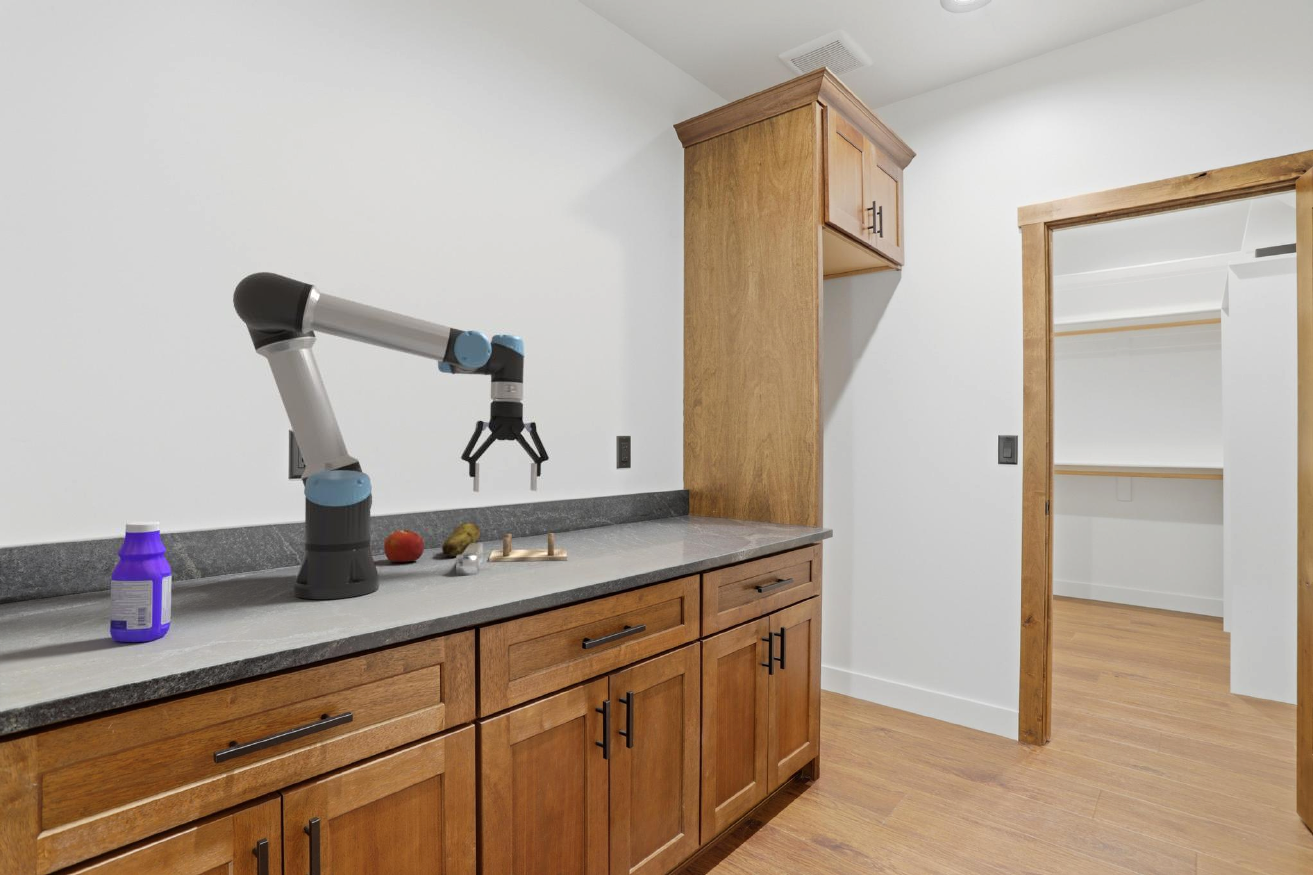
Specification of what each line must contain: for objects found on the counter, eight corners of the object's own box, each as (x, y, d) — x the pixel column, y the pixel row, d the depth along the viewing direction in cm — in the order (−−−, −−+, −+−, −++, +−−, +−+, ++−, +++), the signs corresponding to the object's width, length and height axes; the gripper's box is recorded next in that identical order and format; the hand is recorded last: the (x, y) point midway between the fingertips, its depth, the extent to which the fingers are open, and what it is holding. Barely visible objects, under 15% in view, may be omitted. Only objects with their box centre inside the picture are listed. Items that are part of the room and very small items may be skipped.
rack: (489, 561, 163) (489, 539, 163) (492, 554, 174) (493, 533, 174) (566, 560, 166) (567, 538, 166) (565, 552, 177) (566, 532, 177)
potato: (428, 556, 170) (429, 525, 170) (468, 549, 181) (468, 520, 181) (450, 559, 166) (450, 527, 166) (489, 552, 176) (489, 522, 176)
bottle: (178, 632, 102) (180, 520, 102) (152, 644, 97) (153, 524, 97) (130, 633, 102) (131, 519, 102) (100, 644, 96) (102, 524, 96)
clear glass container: (466, 559, 167) (466, 541, 167) (486, 558, 168) (486, 541, 168) (454, 575, 146) (454, 555, 146) (477, 575, 147) (477, 555, 147)
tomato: (378, 561, 163) (378, 528, 163) (414, 557, 169) (415, 525, 169) (392, 567, 156) (392, 533, 156) (430, 562, 162) (430, 529, 162)
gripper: (455, 398, 148) (453, 493, 148) (562, 402, 159) (560, 491, 159) (449, 399, 155) (448, 490, 155) (553, 404, 166) (551, 488, 166)
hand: (505, 491), depth 157 cm, fingers open, 13 cm apart
